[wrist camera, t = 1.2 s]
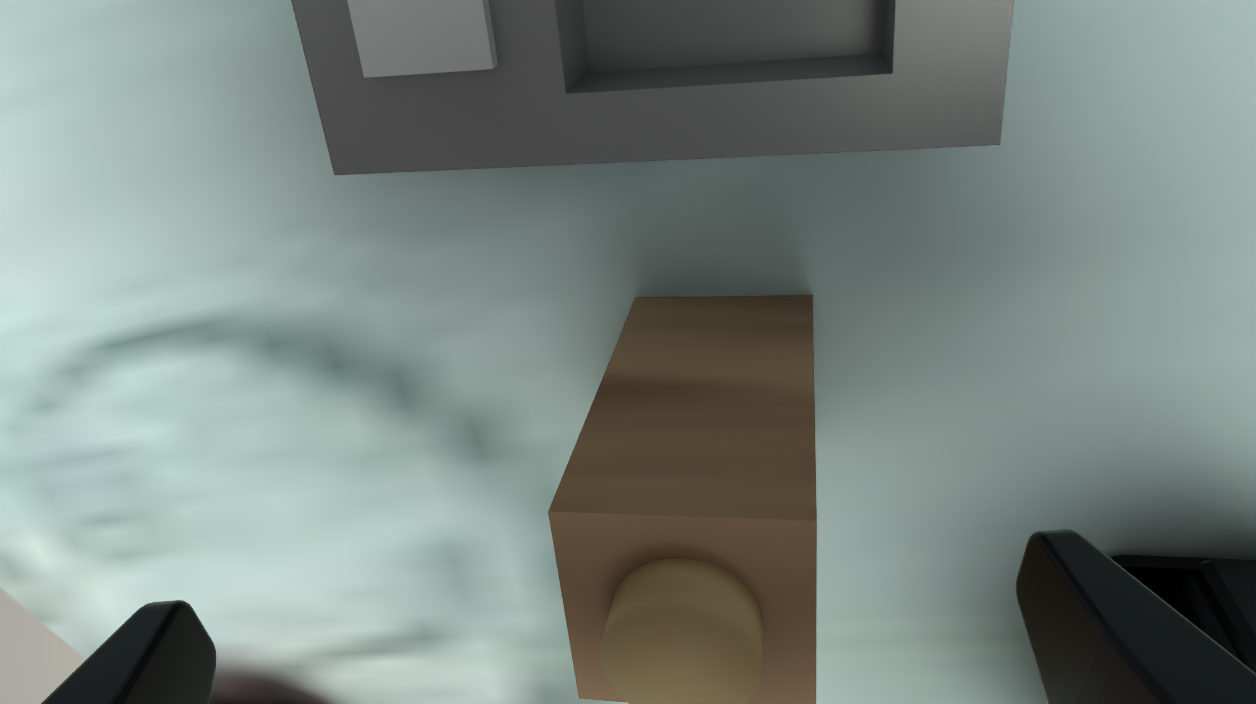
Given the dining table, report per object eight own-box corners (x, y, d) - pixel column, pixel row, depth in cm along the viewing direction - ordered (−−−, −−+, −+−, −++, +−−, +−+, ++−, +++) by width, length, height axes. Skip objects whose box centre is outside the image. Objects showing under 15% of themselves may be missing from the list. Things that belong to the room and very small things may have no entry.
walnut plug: (812, 446, 22) (816, 770, 14) (649, 443, 22) (565, 747, 14) (812, 295, 20) (817, 567, 12) (635, 297, 20) (530, 555, 13)
